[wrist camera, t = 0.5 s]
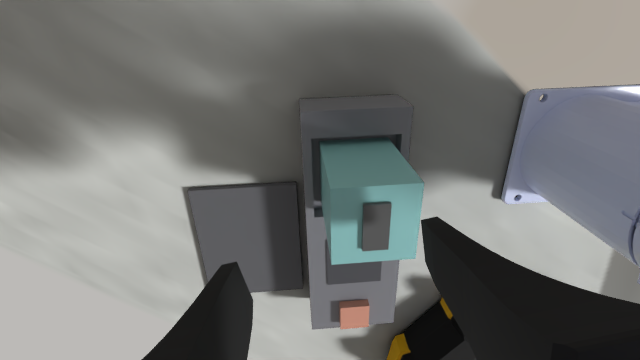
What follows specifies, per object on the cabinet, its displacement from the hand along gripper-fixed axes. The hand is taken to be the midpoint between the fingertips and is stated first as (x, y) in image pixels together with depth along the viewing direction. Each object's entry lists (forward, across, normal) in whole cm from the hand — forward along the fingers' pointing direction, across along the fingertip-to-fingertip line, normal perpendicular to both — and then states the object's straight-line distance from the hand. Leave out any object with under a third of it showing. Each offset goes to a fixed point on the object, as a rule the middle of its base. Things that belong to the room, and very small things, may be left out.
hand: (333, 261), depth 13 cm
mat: (+10, +6, +5) cm, 13 cm away
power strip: (+10, -1, +4) cm, 11 cm away
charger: (+8, -2, 0) cm, 8 cm away
